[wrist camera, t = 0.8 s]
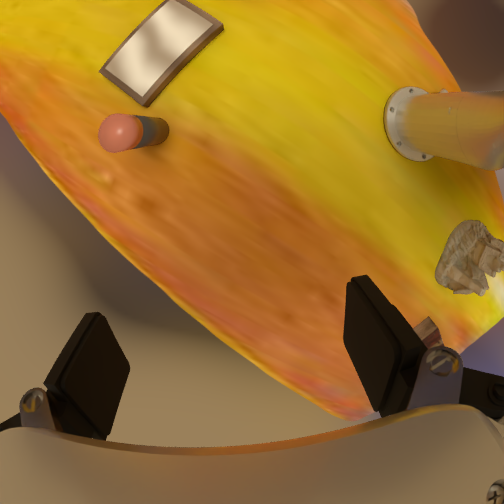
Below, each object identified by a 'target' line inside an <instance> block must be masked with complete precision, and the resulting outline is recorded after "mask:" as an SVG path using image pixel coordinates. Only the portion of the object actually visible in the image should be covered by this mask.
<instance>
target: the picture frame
mask: <svg viewBox="0 0 504 504" xmlns="http://www.w3.org/2000/svg"><path fill="white" fill-rule="evenodd" d="M223 30H224V27H223V23H221V22H220V21H218V20H217V19H215V18H214V17H212V16H211V15H209V14H208V13H206V12H205V11H203V10H201V9H200V8H198V7H197V6H195V5H193V4H192V3H190V2H188V1H187V0H165V1H164V2H162V3H161V4H160V5H159V6H158V7H157V8H156V9H155V10H154V11H153V12H152V13H150V14H149V15H148V16H147V17H146V18H145V19H144V20H143V21H142V22H141V23H140V24H139V25H138V26H137V27H136V28H135V29H134V31H133V32H132V33H131V34H130V35H129V36H128V37H127V38H126V39H125V40H124V41H123V43H122V44H121V45H120V46H119V47H118V48H117V49H116V51H115V52H114V53H113V54H112V55H111V57H110V58H109V59H108V60H107V61H106V63H105V64H104V65H103V67H102V68H101V69H100V70H99V72H100V73H101V74H102V75H104V76H105V77H106V78H108V79H109V80H110V81H111V82H113V83H114V84H115V85H117V86H118V87H119V88H120V89H122V90H123V91H124V92H126V93H127V94H128V95H129V96H131V97H132V98H133V99H134V100H136V101H137V102H138V103H139V104H141V105H142V106H145V107H149V106H150V104H151V103H152V102H153V101H154V100H155V98H156V97H157V96H158V95H159V94H160V93H161V91H162V90H163V89H164V88H165V87H166V86H167V85H168V84H169V82H170V81H171V80H172V79H173V78H174V77H175V76H176V75H177V74H178V73H179V72H180V71H181V70H182V69H183V68H184V67H185V66H186V64H187V63H188V62H189V61H190V60H191V59H192V58H194V57H195V56H196V55H197V54H198V53H199V52H200V51H201V50H202V49H203V48H204V47H205V46H206V45H207V44H208V43H209V42H210V41H212V40H213V39H214V38H215V37H216V36H217V35H218V34H219V33H221V32H222V31H223Z"/></svg>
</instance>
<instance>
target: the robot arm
mask: <svg viewBox="0 0 504 504" xmlns="http://www.w3.org/2000/svg"><path fill="white" fill-rule="evenodd" d="M384 124H385V130H386V133H387V136H388V138H389V140H390V142H391V144H392V145H393V147H394V148H395V149H396V150H397V151H398V152H399V153H400V154H401V155H402V156H404V157H406V158H408V159H410V160H414V161H420V162H421V161H426V160H429V159H431V158H433V157H434V156H437V157H441V158H445V159H449V160H453V161H457V162H460V163H464V164H468V165H471V166H474V167H478V168H481V169H484V170H490V171H495V170H499V169H502V168H504V91H480V92H449V93H448V92H447V90H445V89H442V90H441V91H440V92H439V93H435V94H429V93H428V92H426V91H424V90H423V89H420V88H418V87H404V88H400V89H399V90H397V91H395V92H394V93H393V94H392V95H391V96H390V98H389V99H388V101H387V104H386V106H385V111H384ZM343 341H344V345H345V347H346V349H347V352H348V354H349V356H350V358H351V360H352V362H353V365H354V367H355V369H356V371H357V373H358V376H359V378H360V380H361V382H362V385H363V387H364V389H365V391H366V394H367V396H368V398H369V401H370V403H371V405H372V407H373V409H374V411H375V412H377V411H379V413H380V415H381V417H382V418H379V419H376V420H373V421H369V422H366V423H362V424H359V425H355V426H351V427H348V428H343V429H340V430H335V431H331V432H326V433H322V434H317V435H312V436H307V437H302V438H297V439H291V440H284V441H277V442H270V443H262V444H253V445H241V446H227V447H201V448H199V447H197V448H194V447H191V448H190V447H189V448H188V447H157V446H145V445H133V444H124V443H117V442H110V441H106V438H107V435H109V434H110V432H111V429H112V426H113V422H114V419H115V415H116V412H117V409H118V406H119V402H120V399H121V396H122V393H123V390H124V387H125V384H126V381H127V378H128V375H129V372H130V365H129V362H128V360H127V359H126V357H125V355H124V353H123V351H122V349H121V348H120V346H119V344H118V342H117V340H116V338H115V336H114V334H113V332H112V330H111V328H110V326H109V324H108V322H107V320H106V318H105V316H103V315H102V314H101V313H99V312H92V313H86V314H85V315H84V317H83V318H82V320H81V321H80V323H79V324H78V326H77V328H76V329H75V331H74V332H73V334H72V335H71V337H70V339H69V340H68V342H67V343H66V345H65V347H64V348H63V350H62V352H61V354H60V355H59V357H58V358H57V360H56V362H55V364H54V365H53V367H52V369H51V370H50V372H49V374H48V376H47V378H46V379H45V381H44V383H43V384H44V385H45V386H46V387H47V389H48V390H47V392H45V390H43V389H42V388H33V389H30V390H29V391H27V392H26V393H25V395H23V397H22V399H21V401H20V405H19V408H20V413H18V414H16V415H15V416H13V417H11V418H10V419H8V420H6V421H4V422H3V423H1V424H0V504H504V377H502V376H498V375H494V374H489V373H485V372H481V371H477V370H473V369H469V368H465V367H463V361H462V358H461V356H460V355H459V354H458V353H457V352H456V351H455V350H453V349H451V348H448V347H445V346H436V347H432V348H430V349H428V348H427V347H426V346H425V344H424V343H423V342H422V340H421V339H420V338H419V336H418V335H417V334H416V332H415V331H414V330H413V328H412V327H411V326H410V324H409V323H408V322H407V321H406V319H405V318H404V317H403V315H402V314H401V313H400V312H399V310H398V309H397V308H396V307H395V306H394V305H392V304H391V303H390V302H389V301H388V300H387V298H386V297H385V296H384V295H383V293H382V292H381V291H380V290H379V288H378V287H377V286H376V285H375V284H374V282H373V281H372V280H371V279H370V278H369V276H367V275H362V276H357V277H352V278H351V282H348V283H347V286H346V306H345V321H344V334H343ZM389 415H390V416H389ZM92 438H93V439H92Z"/></svg>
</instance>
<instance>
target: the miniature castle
mask: <svg viewBox="0 0 504 504" xmlns="http://www.w3.org/2000/svg"><path fill="white" fill-rule="evenodd" d="M501 270H502V271H504V242H503V241H502V240H500V239H496V238H494V237H493V236H492V235H491V234H490V233H489V232H488V230H487V228H486V226H484V225H483V223H481V222H480V221H477V220H476V221H473V220H467V221H463V222H461V223H460V224H459V225H458V226H457V227H456V228H455V229H454V230H453V232H452V233H451V234H450V236H449V238H448V241H447V243H446V246H445V248H444V251H443V253H442V255H441V258H440V260H439V262H438V265H437V267H436V270H435V278H436V281H437V282H438V283H439V284H441V285H443V286H445V287H448V288H449V289H451V290H454V292H453V294H471V293H473V292H475V293H476V294H478V295H479V296H483V295H484V294H485V290H488V289H489V286H488V283H487V279H486V276H485V273H487V274H488V275H490V276H492V277H495V274H496V272H501ZM484 272H485V273H484Z"/></svg>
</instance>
